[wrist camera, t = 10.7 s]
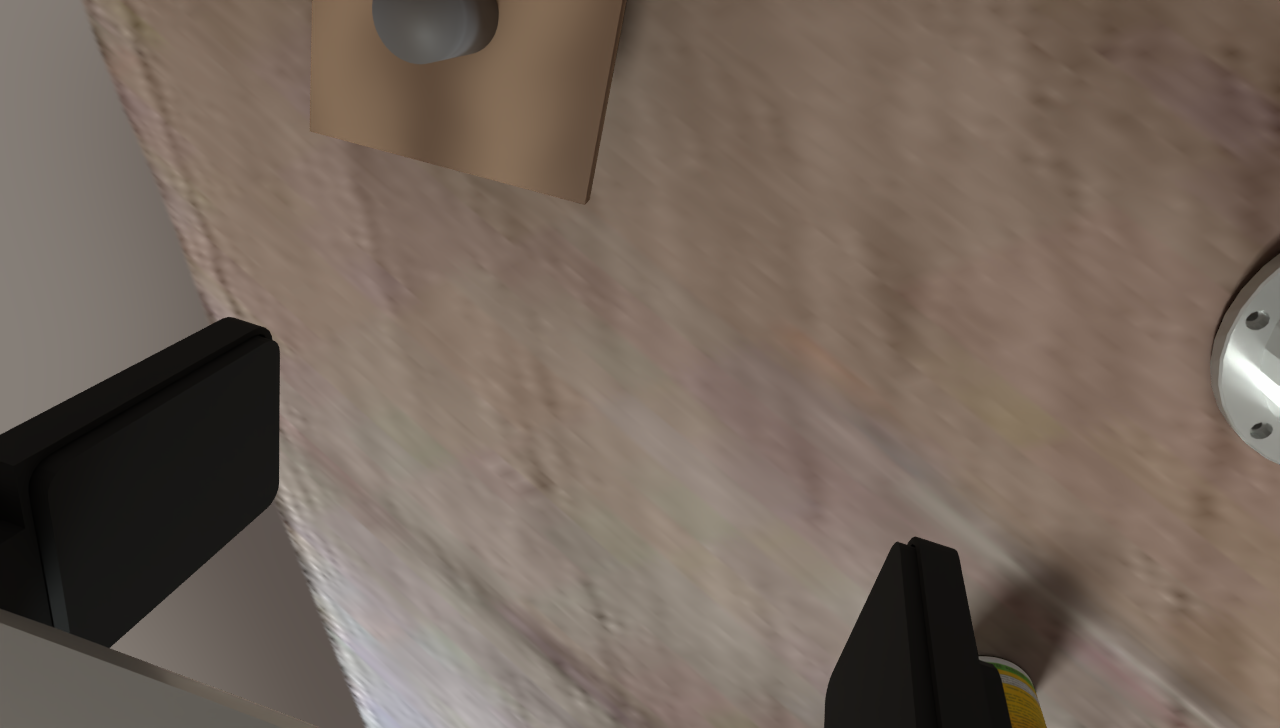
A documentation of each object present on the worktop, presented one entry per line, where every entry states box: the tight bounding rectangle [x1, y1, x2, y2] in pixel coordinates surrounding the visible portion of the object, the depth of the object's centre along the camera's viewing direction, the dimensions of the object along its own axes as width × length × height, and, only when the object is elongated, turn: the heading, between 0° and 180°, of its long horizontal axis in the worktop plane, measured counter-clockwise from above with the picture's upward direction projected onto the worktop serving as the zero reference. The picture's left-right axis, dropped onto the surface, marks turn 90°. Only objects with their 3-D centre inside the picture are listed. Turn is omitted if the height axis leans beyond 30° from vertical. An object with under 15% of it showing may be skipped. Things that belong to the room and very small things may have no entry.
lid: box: [310, 0, 627, 205], centre depth 29 cm, size 12×12×5 cm
